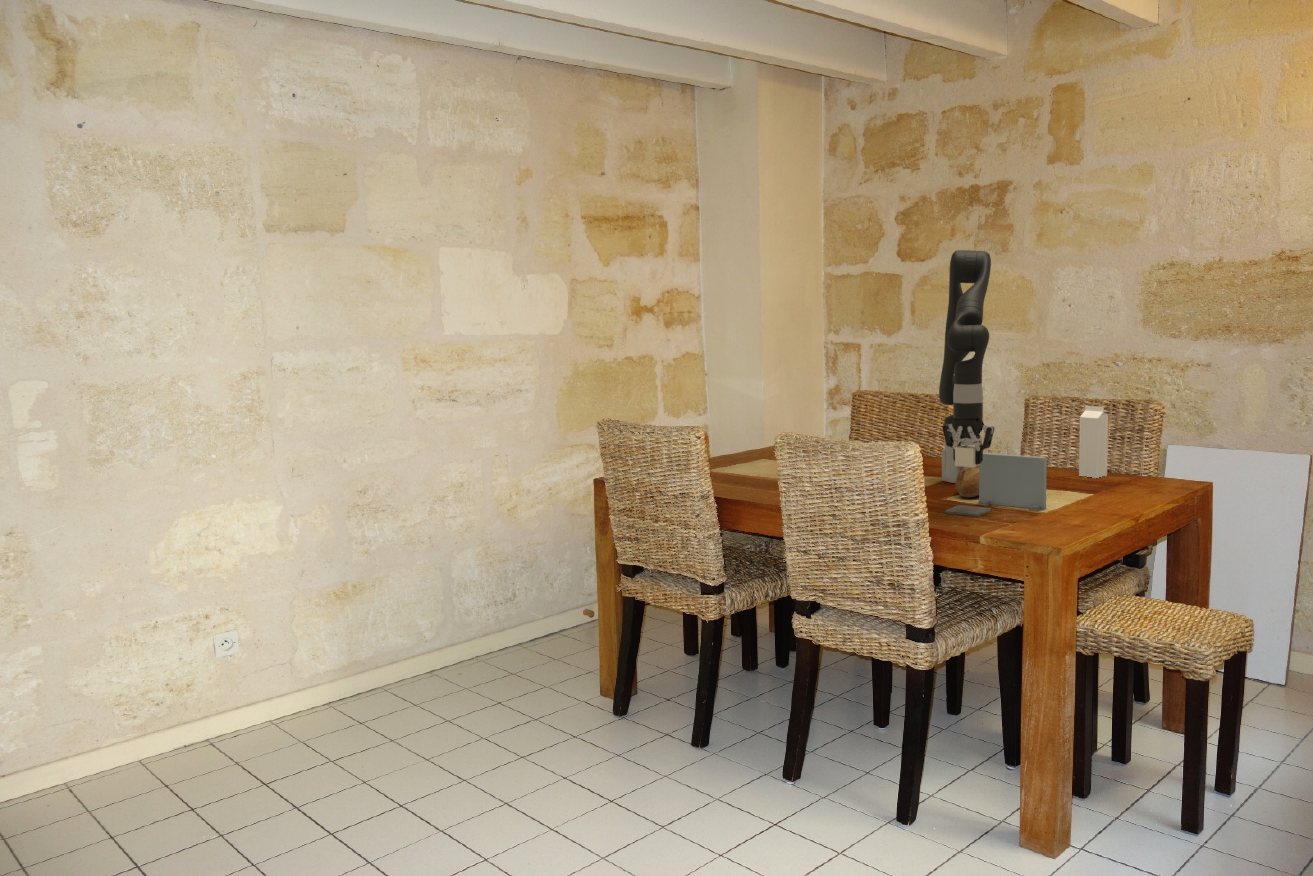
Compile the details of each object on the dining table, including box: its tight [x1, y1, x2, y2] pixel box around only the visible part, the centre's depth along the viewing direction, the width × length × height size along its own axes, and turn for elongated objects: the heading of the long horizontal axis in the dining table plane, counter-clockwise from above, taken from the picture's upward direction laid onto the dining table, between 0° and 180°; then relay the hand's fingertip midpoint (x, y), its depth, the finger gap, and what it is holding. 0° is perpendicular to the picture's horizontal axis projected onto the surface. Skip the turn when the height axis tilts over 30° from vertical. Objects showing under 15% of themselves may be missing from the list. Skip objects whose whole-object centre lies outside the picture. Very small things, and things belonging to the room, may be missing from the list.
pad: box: [944, 504, 992, 518], centre depth 268 cm, size 9×9×1 cm
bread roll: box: [954, 467, 979, 499], centre depth 289 cm, size 10×15×8 cm, turn 145°
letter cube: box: [955, 445, 981, 468], centre depth 266 cm, size 5×5×5 cm
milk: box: [1078, 405, 1109, 479], centre depth 308 cm, size 6×6×22 cm
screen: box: [978, 452, 1048, 512], centre depth 272 cm, size 18×6×14 cm, turn 49°
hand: (968, 463), depth 266 cm, fingers closed on letter cube, 5 cm apart
